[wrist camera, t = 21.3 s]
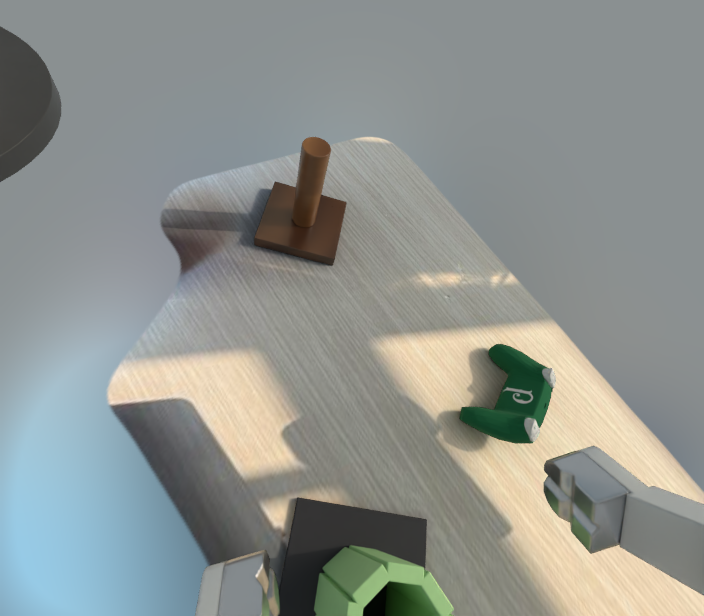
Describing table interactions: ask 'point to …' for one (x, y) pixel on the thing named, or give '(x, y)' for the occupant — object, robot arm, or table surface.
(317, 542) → the mat
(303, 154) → the stand
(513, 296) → the table surface
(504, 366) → the gaming controller
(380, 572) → the green octagonal tube
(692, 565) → the robot arm
